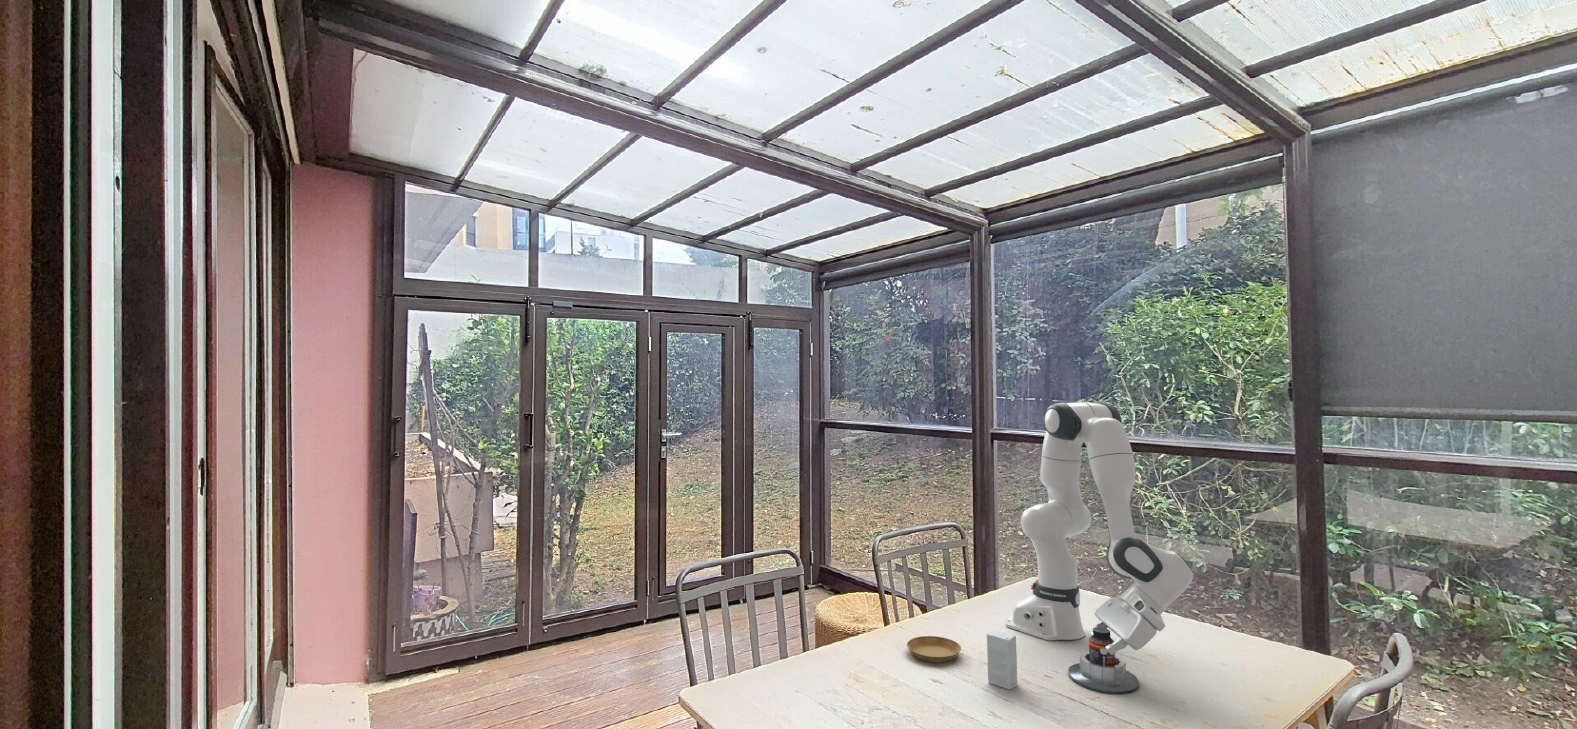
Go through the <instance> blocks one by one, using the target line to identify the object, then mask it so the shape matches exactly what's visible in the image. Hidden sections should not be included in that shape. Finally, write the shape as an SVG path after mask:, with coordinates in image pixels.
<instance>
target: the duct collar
mask: <svg viewBox="0 0 1577 729" xmlns="http://www.w3.org/2000/svg"><path fill="white" fill-rule="evenodd" d="M1067 672H1068V677H1069V678H1070V680H1071V681H1072V682H1073V683H1075V684H1077V685H1078V686H1081V687H1082V688H1084V689H1088V690H1090V691H1094V692H1097V693H1102V694H1111V695H1125V694H1131V693H1134V692H1136V691H1138V689H1139V688H1140V681H1139V679H1138V677H1137V676H1136V675H1135V674H1133V673H1132V672H1131V671H1129V670H1127V663H1126V660H1124V659H1123V657H1120V656H1119V655H1116V654H1115V665H1114V666H1105V665H1099V664H1095V663H1092V662H1090V661H1089V651H1084V652H1082V653H1080V654H1079V662H1077V663H1074V664H1072V665H1070V666H1069V667H1068V671H1067Z"/></svg>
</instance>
